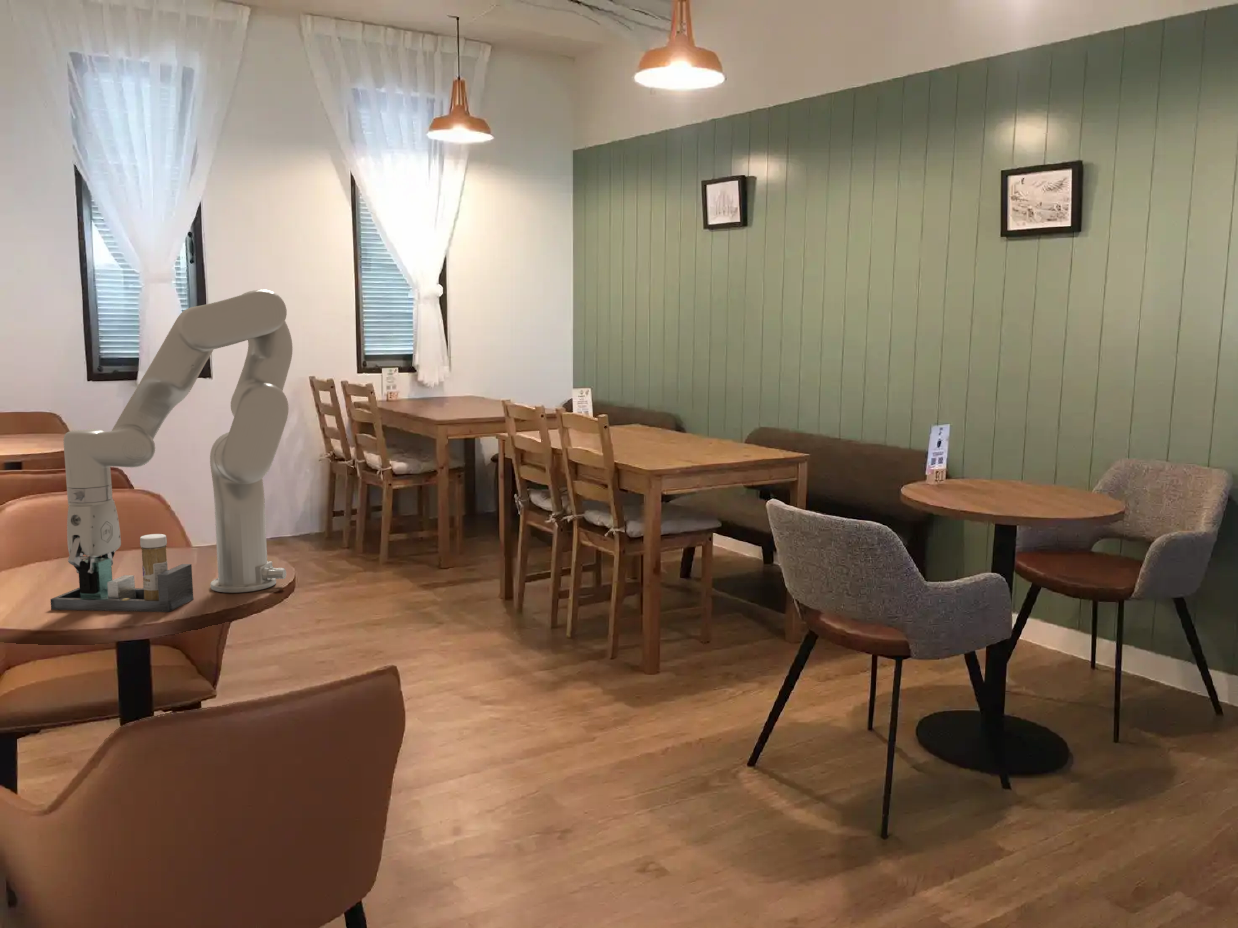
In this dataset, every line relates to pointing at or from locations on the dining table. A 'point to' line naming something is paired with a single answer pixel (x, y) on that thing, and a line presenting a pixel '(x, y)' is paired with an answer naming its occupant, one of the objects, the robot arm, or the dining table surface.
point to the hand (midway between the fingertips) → (96, 589)
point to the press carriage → (111, 582)
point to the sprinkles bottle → (153, 563)
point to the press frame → (137, 595)
